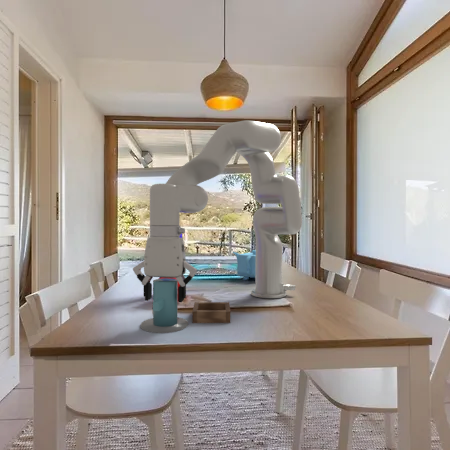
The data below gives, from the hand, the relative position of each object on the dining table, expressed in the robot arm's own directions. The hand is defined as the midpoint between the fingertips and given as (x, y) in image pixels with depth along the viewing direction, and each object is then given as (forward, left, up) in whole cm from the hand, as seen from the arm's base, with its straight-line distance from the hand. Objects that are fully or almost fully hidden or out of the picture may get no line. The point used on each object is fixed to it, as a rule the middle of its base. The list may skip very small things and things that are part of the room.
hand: (164, 300), depth 94 cm
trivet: (0, 0, -7) cm, 7 cm away
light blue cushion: (-28, -70, -7) cm, 76 cm away
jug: (0, +2, -6) cm, 6 cm away
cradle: (-12, -7, -7) cm, 16 cm away
